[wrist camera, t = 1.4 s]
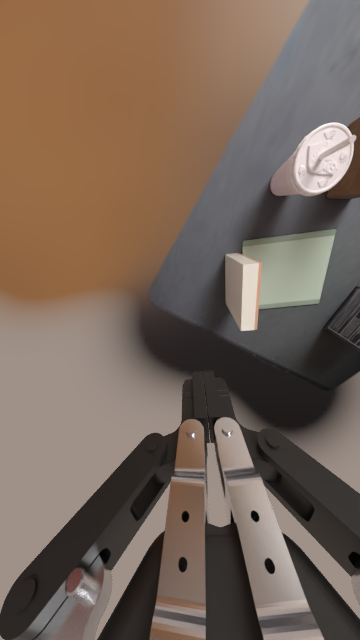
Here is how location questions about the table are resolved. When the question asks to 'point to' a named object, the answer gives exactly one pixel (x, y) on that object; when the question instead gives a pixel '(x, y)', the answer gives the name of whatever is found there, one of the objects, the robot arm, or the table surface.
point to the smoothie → (316, 162)
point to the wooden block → (350, 171)
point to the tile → (243, 289)
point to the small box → (347, 320)
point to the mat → (291, 267)
